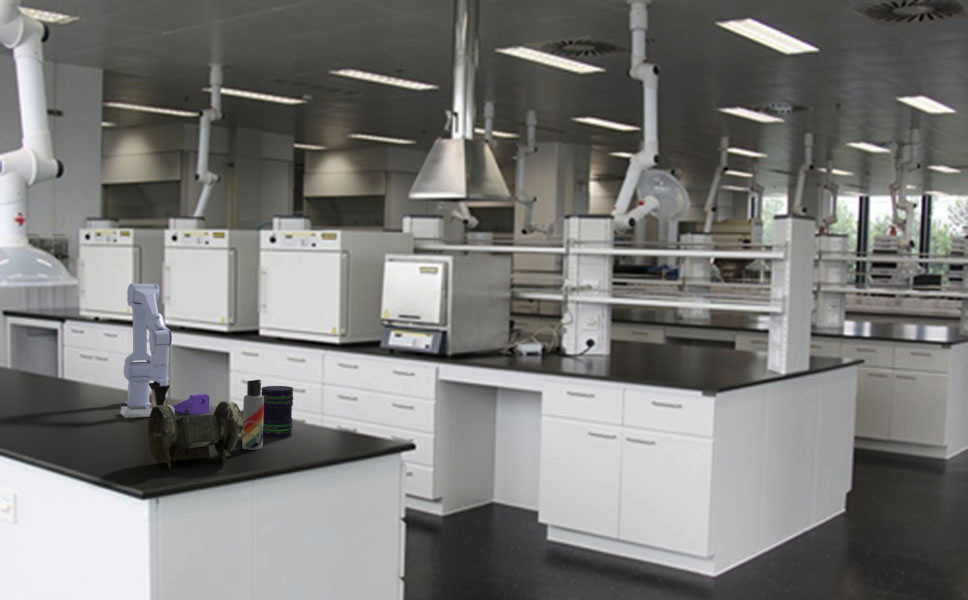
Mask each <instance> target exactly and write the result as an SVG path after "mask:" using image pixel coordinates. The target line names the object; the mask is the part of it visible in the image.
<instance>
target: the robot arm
mask: <svg viewBox="0 0 968 600" xmlns="http://www.w3.org/2000/svg"><path fill="white" fill-rule="evenodd" d="M160 292H161V291H160V286H159V285H158V284H157V283H133V282H131V283H130V284H129V285H128V287H127V291H126V293H127V306H128V307H131V310H132V353H131V354H129V355H127V356H126V357H125V359H124V366H123V376H124V378H125V380H127V381H128V385H127V400H124V403H125V404H126V406H150V405H151V402H150V392H152V389H154V392H155V398H156V404H157V406H160V405H164V401H165V397H166V398H167V393H168V391H169V389H170V387H171V385H170V384H168V383H167V382H169V379H170V378H169V360H170V359H169V358H170V357H169V354H170V351H169V349H170V347H171V345H172V341H173V336H172V335H173V334H172V331H171V329H169V327H167V326H166V323H165V320H164V317H163V315H162V314H161V313H159V309H158V304H157V302H158V300H159V298H160ZM147 329H148V330H147ZM148 332H149V335H147V334H148ZM148 343H149V352H150V353H151V354H149V353H148ZM150 381H152V382H150Z"/></svg>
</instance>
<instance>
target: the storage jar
mask: <svg viewBox="0 0 968 600" xmlns="http://www.w3.org/2000/svg"><path fill="white" fill-rule="evenodd" d="M293 391H294V387H292V386H285V385H267V386H261V395H262V396H264V412H263V437H264V438H263V439H268V438H272V439H274V440H281V438H284V439H288V437H289V438H291V437H293V434H292V432H293V417H292V416H293V415H292V413H293V405H294V392H293ZM272 439H271V440H272Z"/></svg>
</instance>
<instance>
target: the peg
mask: <svg viewBox="0 0 968 600" xmlns="http://www.w3.org/2000/svg"><path fill="white" fill-rule="evenodd" d="M150 398H151V399H150V400H151V402H150V403H151V408H152V409H153V408H154V407H156V406H157V404H156V398H155V392H154V389H152V391H151V395H150ZM166 400H167V396H166V397H165V401H164V405H167V403H166V402H167V401H166ZM164 405H160V406H164Z"/></svg>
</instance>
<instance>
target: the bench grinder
mask: <svg viewBox="0 0 968 600" xmlns="http://www.w3.org/2000/svg"><path fill="white" fill-rule="evenodd" d="M191 402H192V401H190V402H189V404H188V405H187V407H186V410H185V411H186V413H185V416H179V417H176V416H175V415H174V413H173V411H172V409H171V408H170V407H169V406H168V405H169V404H166V405H164V406H156V407H154V408H153V409H152V411H151V414H150V417H148V422H147V423H148V425H147V430H148V431H147V439H148V440H147V441H148V446H149V450H150V453H151V454H150V455H151V456H152V458H153V460H154V461H155V462H156V463H157V464H163V463H165V464H167V466H168V469H171V467H172V463H173V461H174V462H182V461H184V460H185V461H194V460H195V459H196V460H203V459H209V458H210V457H211V454H210V446H214V449H215V451H216V452H217V454H218V455H219V456H220V457H221V463H222V464H223V463H225V462H226V461H227V457H231V456H232V455H231V453H229V452H231V451H233V450H234V449H235V448H236V446H237V443H238V440H239V438H241V437H243V435H244V429H243V414H242V412H241V409H240V407H239V405H238V404H237V403H236V402H235V401H232V400H231V401H220V402H219V403H218V404H217V406H216V408H215V410H214V412H213V414H194V415H190V414H189V410H188V407H189V405H190V403H191Z"/></svg>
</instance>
